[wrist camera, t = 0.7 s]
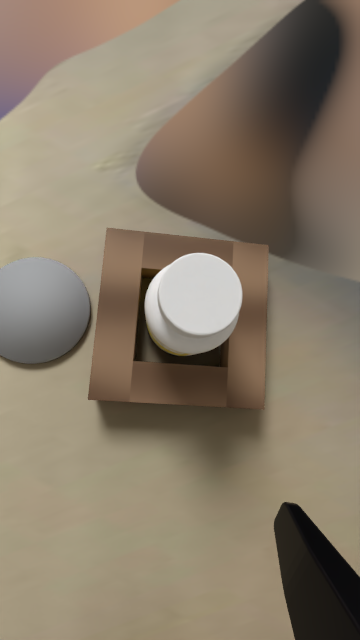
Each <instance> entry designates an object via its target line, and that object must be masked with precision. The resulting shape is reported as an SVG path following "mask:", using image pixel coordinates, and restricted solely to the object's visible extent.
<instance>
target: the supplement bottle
mask: <svg viewBox="0 0 360 640" xmlns="http://www.w3.org/2000/svg"><path fill="white" fill-rule="evenodd" d="M241 305H242V287H241V283H240V280H239V278H238V276H237V274H236V273H235V271H234V270H233V268H232V267H231V266H230V265H229V264H228V263H226V262H225V261H224V260H222V259H220V258H219V257H216V256H214V255H211V254H206V253H192V254H187V255H184V256H182V257H180V258H178V259H177V260H175V261H174V262H173V263H172V264H170V265H168V266H166V267H165V268H163V269H162V270H161V271H160V272H159V273H158V274H157V275H156V276H155V277H154V279H153V280H152V282H151V283H150V285H149V287H148V290H147V293H146V297H145V316H146V323H147V328H148V332H149V335H150V337H151V339H152V340H153V342H154V343H155V344H156V345H157V346H158V347H159V348H160V349H161V350H163V351H164V352H166V353H168V354H171V355H175V356H189V355H194V354H198V353H203V352H207V351H210V350H212V349H214V348H216V347H218V346H219V345H221V344H222V343H223V342H224V341H226V340H227V338H228V337H229V336H230V335H231V333H232V332H233V330H234V328H235V326H236V324H237V321H238V317H239V311H240V308H241Z"/></svg>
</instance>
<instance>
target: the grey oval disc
mask: <svg viewBox="0 0 360 640" xmlns="http://www.w3.org/2000/svg"><path fill="white" fill-rule="evenodd" d="M90 310H91V307H90V299H89V295H88V292H87V289H86V287H85V286H84V284H83V282H82V281H81V279H80V278H79V277H78V276H77V275H76V274H75V273H74V272H73V271H72V270H71V269H70V268H68V267H67V266H65V265H64V264H62V263H60V262H57V261H55V260H51V259H47V258H40V257H32V258H24V259H20V260H17V261H14V262H11V263H9V264H7V265H5V266H4V267H2V268H1V269H0V355H1V356H3V357H5V358H7V359H9V360H12V361H15V362H19V363H43V362H47V361H51V360H54V359H56V358H59V357H60V356H62V355H64V354H66V353H67V352H68V351H70V350H71V349H72V348H73V347H74V346H75V345H76V344H77V343H78V342H79V341H80V339H81V338H82V336H83V335H84V333H85V331H86V329H87V326H88V323H89V319H90Z"/></svg>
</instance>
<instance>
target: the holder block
mask: <svg viewBox="0 0 360 640" xmlns="http://www.w3.org/2000/svg"><path fill="white" fill-rule="evenodd" d="M192 253H206V254H211V255H214V256H216V257H219V258H220V259H222V260H224V261H225V262H226V263H228V264H229V265H230V266H231V267H232V268H233V270H234V271H235V273H236V274H237V276H238V278H239V280H240V283H241V287H242V305H241V308H240V311H239V317H238V321H237V324H236V326H235V328H234V330H233V332H232V333H231V335H230V336H229V337H228V338H227V340H226V341H224V342H223V343H222V344H221V348H220V367H215V366H200V365H186V364H171V363H157V362H142V361H135V354H136V343H137V332H138V321H139V309H140V298H141V287H142V277H143V278H153V279H154V277H155V276H156V275H157V274H158V273H159V272H160V271H161V270H162V269H163V268H165V267H166V266H168V265H170V264H172V263H173V262H174V261H175V260H177V259H178V258H180V257H182V256H184V255H187V254H192ZM267 284H268V245H261V244H252V243H243V242H234V241H224V240H215V239H206V238H197V237H188V236H178V235H169V234H160V233H151V232H141V231H132V230H123V229H114V228H107V231H106V240H105V249H104V258H103V267H102V276H101V286H100V295H99V304H98V313H97V322H96V331H95V340H94V349H93V358H92V367H91V376H90V385H89V394H88V400H104V401H121V402H139V403H157V404H175V405H193V406H211V407H229V408H247V409H264V400H265V361H266V323H267Z"/></svg>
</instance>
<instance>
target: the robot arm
mask: <svg viewBox="0 0 360 640" xmlns="http://www.w3.org/2000/svg"><path fill="white" fill-rule="evenodd" d="M274 532H275V538H276V545H277V551H278V558H279V565H280V571H281V578H282V584H283V590H284V594H285V599H286V603H287V608H288V612H289V616H290V620H291V624H292V628H293V633H294V637H295V640H360V577H359V576H358V575H357V573H356V572H355V571H354V570H353V569H352V567H351V566H350V565H349V564H348V563H347V562H346V560H345V559H344V558H343V557H342V556H341V554H340V553H339V552H338V551H337V550H336V549H335V547H334V546H333V545H332V544H331V543H330V542H329V540H328V539H327V538H326V537H325V536H324V534H323V533H322V532H321V531H320V530H319V529H318V527H317V526H316V525H315V524H314V523H313V521H312V520H311V519H310V518H309V517H308V516H307V514H306V513H305V512H304V511H303V510H302V508H301V507H300V506H299V505H297V504H295V503H289V502H284V503H283V504H282V505H281V507H280V509H279V511H278V514H277V516H276V518H275V521H274Z"/></svg>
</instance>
